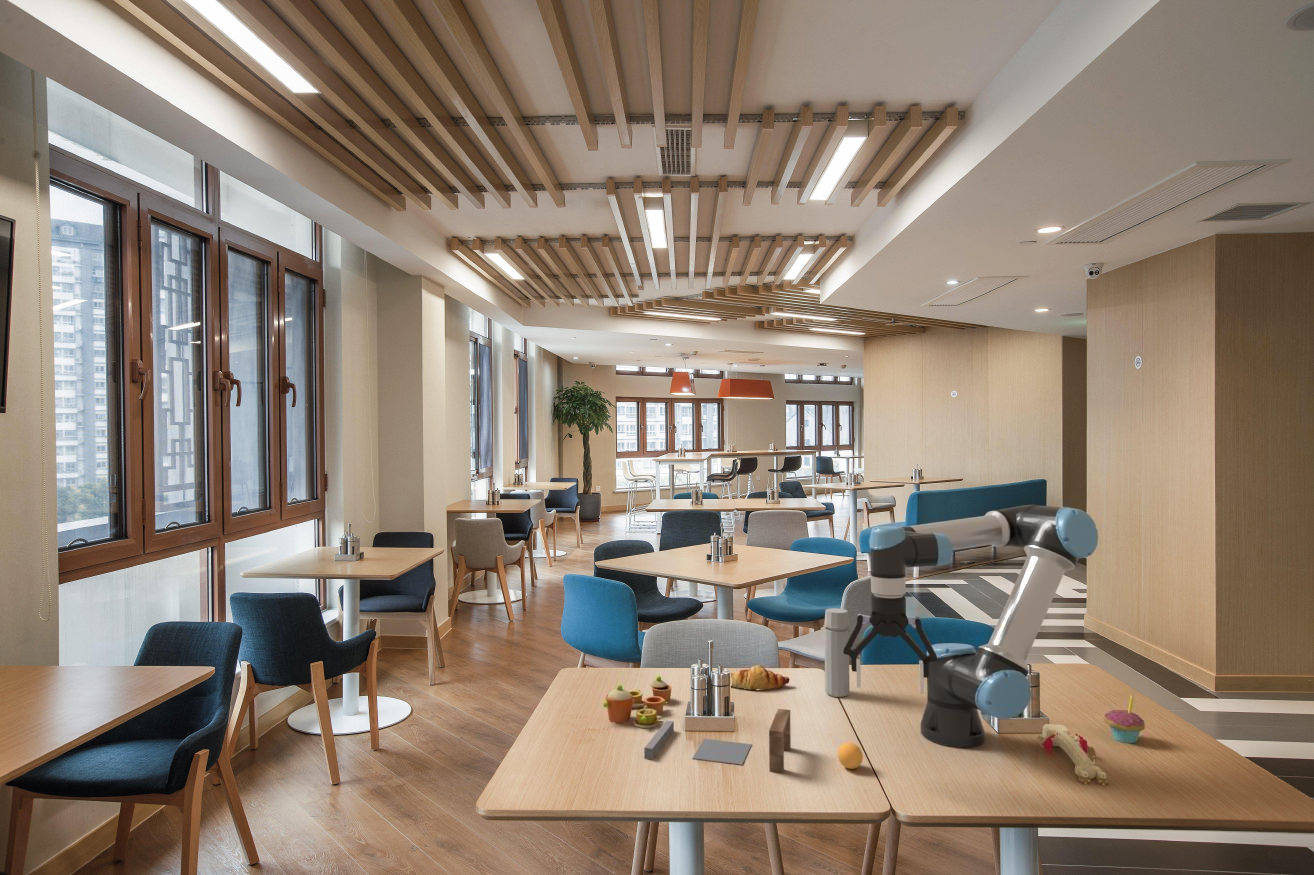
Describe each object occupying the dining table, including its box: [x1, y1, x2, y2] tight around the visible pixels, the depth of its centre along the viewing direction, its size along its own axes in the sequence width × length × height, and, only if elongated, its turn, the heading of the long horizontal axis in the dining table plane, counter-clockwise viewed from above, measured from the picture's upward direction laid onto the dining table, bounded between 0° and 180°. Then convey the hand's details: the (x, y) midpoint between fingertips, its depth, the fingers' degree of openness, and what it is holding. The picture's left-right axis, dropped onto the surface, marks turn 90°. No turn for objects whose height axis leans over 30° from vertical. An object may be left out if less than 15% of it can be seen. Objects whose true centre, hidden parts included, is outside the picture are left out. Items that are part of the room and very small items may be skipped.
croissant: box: [731, 664, 790, 691], centre depth 220 cm, size 21×10×8 cm, turn 85°
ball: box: [837, 742, 864, 770], centre depth 162 cm, size 6×6×6 cm
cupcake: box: [1103, 692, 1146, 744], centre depth 177 cm, size 9×8×12 cm
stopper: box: [643, 720, 675, 760], centre depth 176 cm, size 2×18×2 cm, turn 162°
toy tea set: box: [603, 675, 673, 729], centre depth 199 cm, size 26×16×10 cm, turn 165°
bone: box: [1036, 723, 1110, 786], centre depth 165 cm, size 10×9×25 cm
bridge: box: [768, 708, 792, 774], centre depth 167 cm, size 3×14×9 cm, turn 162°
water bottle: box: [822, 607, 851, 698], centre depth 213 cm, size 9×8×25 cm
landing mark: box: [691, 738, 752, 766], centre depth 171 cm, size 12×12×1 cm
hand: (889, 688), depth 160 cm, fingers open, 13 cm apart
